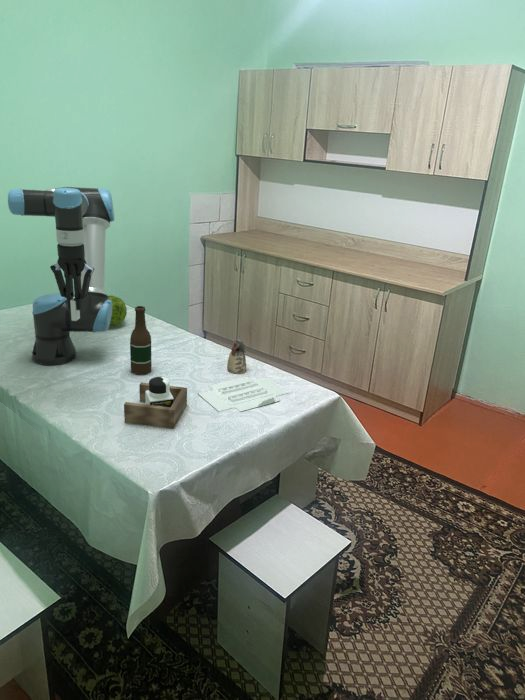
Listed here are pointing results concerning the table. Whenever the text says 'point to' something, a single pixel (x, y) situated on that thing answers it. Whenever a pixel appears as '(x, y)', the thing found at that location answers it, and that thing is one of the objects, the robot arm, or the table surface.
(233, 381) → the tray
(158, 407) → the box
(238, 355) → the figurine
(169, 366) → the table surface
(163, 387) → the medicine bottle
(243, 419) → the table surface
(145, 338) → the beer bottle
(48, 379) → the table surface
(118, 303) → the lettuce
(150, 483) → the table surface
